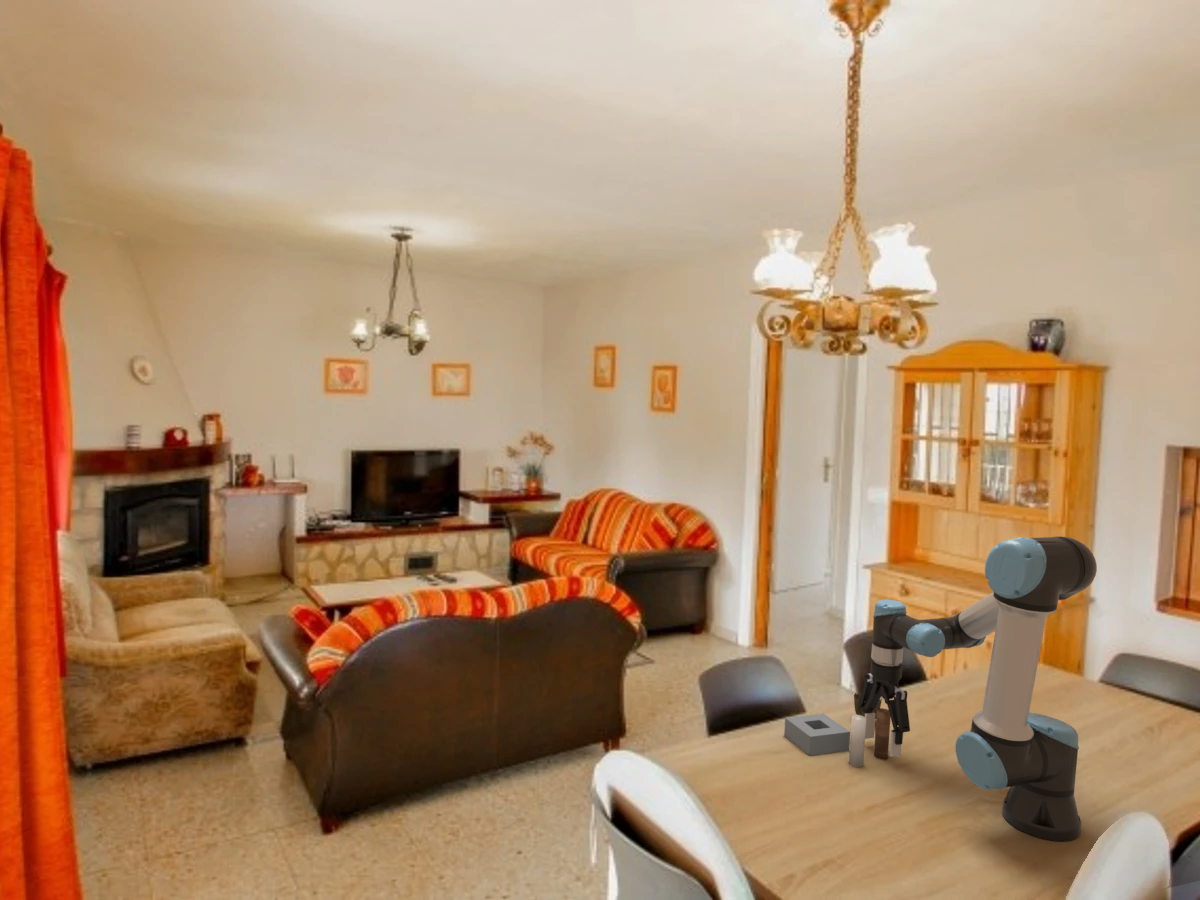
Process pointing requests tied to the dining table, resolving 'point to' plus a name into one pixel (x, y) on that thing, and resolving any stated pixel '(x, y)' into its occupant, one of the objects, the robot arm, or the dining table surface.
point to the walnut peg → (882, 733)
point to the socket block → (817, 734)
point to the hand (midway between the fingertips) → (881, 746)
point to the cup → (859, 710)
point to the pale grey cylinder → (857, 740)
